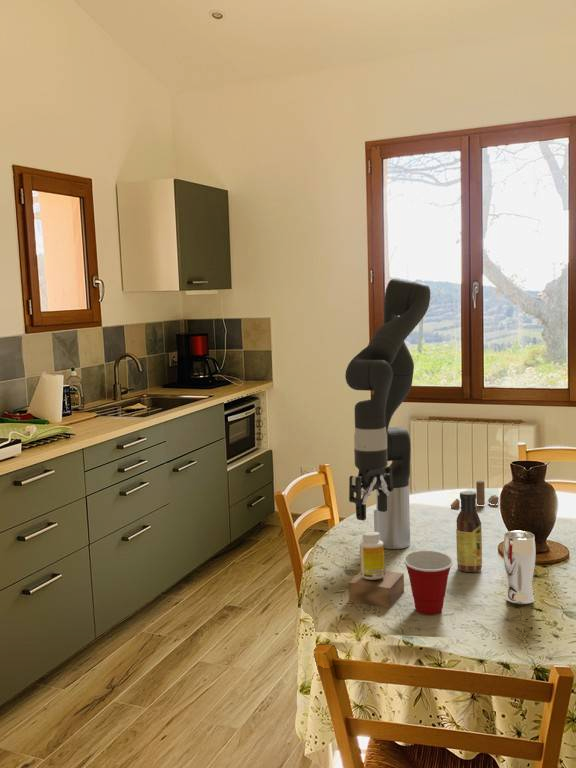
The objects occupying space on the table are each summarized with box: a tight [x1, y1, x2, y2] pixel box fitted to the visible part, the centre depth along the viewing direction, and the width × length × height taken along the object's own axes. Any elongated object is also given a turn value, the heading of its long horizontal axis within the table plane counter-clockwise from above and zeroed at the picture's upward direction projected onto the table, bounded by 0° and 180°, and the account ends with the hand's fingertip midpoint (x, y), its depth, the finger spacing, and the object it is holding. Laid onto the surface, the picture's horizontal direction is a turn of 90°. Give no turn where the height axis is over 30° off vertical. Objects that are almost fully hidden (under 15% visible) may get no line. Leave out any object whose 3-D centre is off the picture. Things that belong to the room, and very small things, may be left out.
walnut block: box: [348, 570, 405, 609], centre depth 175 cm, size 10×10×5 cm
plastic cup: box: [403, 549, 454, 616], centre depth 166 cm, size 11×11×12 cm
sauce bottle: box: [455, 490, 483, 574], centre depth 191 cm, size 6×6×20 cm
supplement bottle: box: [359, 531, 386, 580], centre depth 175 cm, size 6×6×10 cm
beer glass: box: [503, 530, 537, 605], centre depth 170 cm, size 7×7×15 cm
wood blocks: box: [449, 480, 499, 509], centre depth 242 cm, size 25×3×10 cm, turn 96°
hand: (372, 515), depth 174 cm, fingers open, 8 cm apart
